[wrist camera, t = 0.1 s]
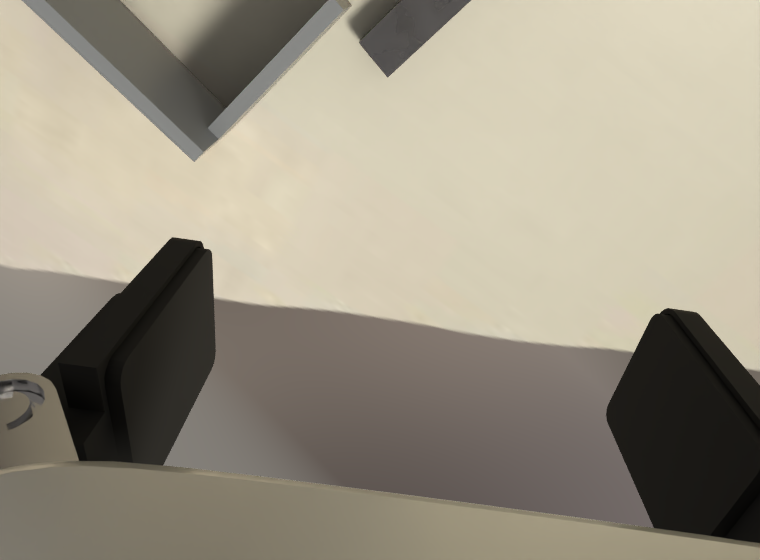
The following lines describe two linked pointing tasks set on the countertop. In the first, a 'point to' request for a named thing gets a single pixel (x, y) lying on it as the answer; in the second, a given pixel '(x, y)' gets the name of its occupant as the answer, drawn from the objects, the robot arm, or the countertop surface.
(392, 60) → the rail
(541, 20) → the countertop surface
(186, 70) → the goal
